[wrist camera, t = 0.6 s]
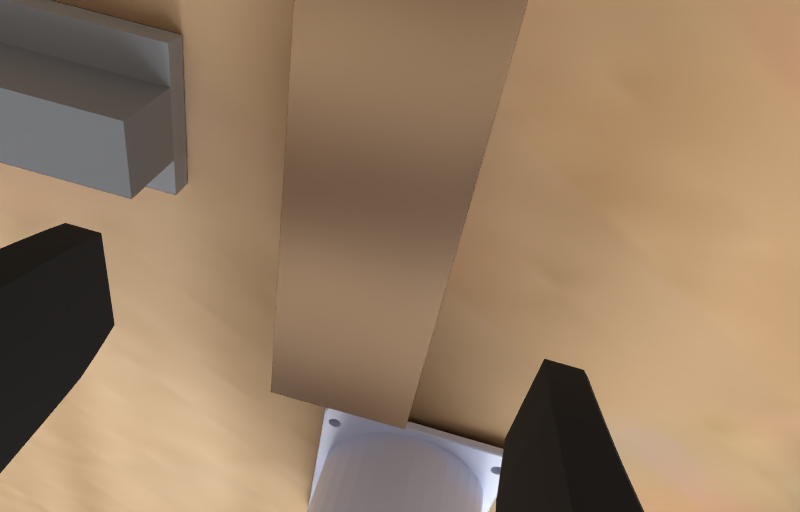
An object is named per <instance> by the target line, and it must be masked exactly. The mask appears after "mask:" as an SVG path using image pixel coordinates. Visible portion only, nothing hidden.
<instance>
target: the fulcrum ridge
mask: <svg viewBox="0 0 800 512" xmlns="http://www.w3.org/2000/svg"><path fill="white" fill-rule="evenodd" d="M0 162H1V163H4V164H8V165H11V166H15V167H19V168H22V169H26V170H29V171H33V172H36V173H40V174H44V175H47V176H51V177H54V178H58V179H62V180H65V181H69V182H72V183H76V184H80V185H83V186H87V187H90V188H94V189H97V190H101V191H105V192H108V193H112V194H115V195H119V196H123V197H126V198H130V199H132V198H133V197H134V196H135V195H136V194H138V193H139V192H140V191H141V190H142V189H143V188H144V187H148V188H152V189H155V190H159V191H163V192H166V193H170V194H173V195H176V194H177V193H178V192H179V191H180V190H181V189H182V188H183V187H184V186H185V185H186V184H187V183H188V182H187V154H186V126H185V98H184V71H183V43H182V35H180V34H177V33H173V32H169V31H165V30H161V29H158V28H154V27H150V26H146V25H142V24H139V23H135V22H131V21H127V20H124V19H120V18H116V17H112V16H108V15H105V14H101V13H97V12H93V11H89V10H86V9H82V8H78V7H74V6H70V5H67V4H63V3H59V2H55V1H51V0H0Z"/></svg>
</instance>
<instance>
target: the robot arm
mask: <svg viewBox="0 0 800 512" xmlns="http://www.w3.org/2000/svg"><path fill="white" fill-rule="evenodd" d="M113 326H114V318H113V311H112V304H111V297H110V290H109V283H108V277H107V270H106V263H105V256H104V249H103V242H102V235H101V233H99V232H95V231H92V230H88V229H85V228H81V227H78V226H74V225H71V224H67V223H64V224H61V225H59V226H56V227H53V228H50V229H48V230H45V231H42V232H40V233H37V234H35V235H32V236H30V237H27V238H25V239H23V240H20V241H18V242H15V243H13V244H10V245H8V246H6V247H3V248H1V249H0V473H1V472H2V471H3V469H4V468H5V467H6V466H7V465H8V464H9V462H10V461H11V460H12V459H13V458H14V456H15V455H16V454H17V453H18V452H19V451H20V449H21V448H22V447H23V446H24V445H25V443H26V442H27V441H28V440H29V439H30V438H31V436H32V435H33V434H34V433H35V432H36V431H37V429H38V428H39V427H40V426H41V425H42V424H43V422H44V421H45V420H46V419H47V418H48V416H49V415H50V414H51V413H52V412H53V410H54V409H55V408H56V407H57V406H58V404H59V403H60V402H61V401H62V400H63V398H64V397H65V396H66V395H67V394H68V392H69V391H70V390H71V389H72V388H73V386H74V385H75V384H76V383H77V381H78V380H79V379H80V378H81V376H82V375H83V373H84V372H85V370H86V369H87V367H88V366H89V364H90V363H91V361H92V360H93V358H94V357H95V355H96V354H97V352H98V351H99V349H100V347H101V346H102V344H103V343H104V341H105V339H106V338H107V336H108V334H109V333H110V331H111V330H112V328H113ZM496 497H497V499H496ZM495 499H496V512H644V510H643V508H642V506H641V504H640V502H639V499H638V497H637V495H636V493H635V491H634V488H633V486H632V484H631V482H630V480H629V478H628V475H627V473H626V471H625V468H624V466H623V464H622V461H621V459H620V457H619V454H618V452H617V450H616V447H615V445H614V442H613V440H612V438H611V435H610V433H609V430H608V428H607V425H606V423H605V420H604V418H603V415H602V413H601V410H600V408H599V405H598V403H597V400H596V398H595V395H594V392H593V390H592V387H591V385H590V382H589V379H588V377H587V375H586V373H585V372H584V370H582V369H578V368H575V367H571V366H568V365H564V364H561V363H557V362H554V361H550V360H547V359H544V361H543V363H542V365H541V367H540V369H539V371H538V373H537V375H536V377H535V379H534V381H533V383H532V385H531V387H530V389H529V391H528V393H527V395H526V397H525V399H524V401H523V403H522V405H521V408H520V410H519V412H518V414H517V416H516V418H515V420H514V422H513V424H512V426H511V428H510V430H509V432H508V434H507V436H506V438H505V443H504V449H502V448H498V447H495V446H491V445H488V444H485V443H481V442H478V441H474V440H471V439H467V438H464V437H461V436H457V435H454V434H450V433H447V432H443V431H440V430H436V429H433V428H430V427H426V426H423V425H419V424H416V423H412V422H409V421H408V422H407V425H406V429H401V428H397V427H394V426H390V425H387V424H383V423H380V422H376V421H373V420H369V419H365V418H362V417H358V416H355V415H351V414H348V413H344V412H340V411H337V410H333V409H330V408H326V410H325V413H324V419H323V425H322V430H321V436H320V442H319V448H318V453H317V459H316V465H315V470H314V476H313V482H312V488H311V493H310V499H309V505H308V510H307V512H489V510H490V508H491V506H492V504H493V502H494V500H495Z"/></svg>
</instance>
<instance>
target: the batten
mask: <svg viewBox="0 0 800 512" xmlns="http://www.w3.org/2000/svg"><path fill="white" fill-rule="evenodd" d="M527 3H528V0H294V10H293V26H292V43H291V60H290V77H289V94H288V111H287V128H286V145H285V162H284V179H283V196H282V213H281V229H280V246H279V263H278V280H277V297H276V314H275V331H274V348H273V365H272V382H271V392H273V393H276V394H280V395H283V396H287V397H291V398H294V399H298V400H301V401H305V402H308V403H312V404H316V405H319V406H323V407H326V408H330V409H333V410H337V411H340V412H344V413H348V414H351V415H355V416H358V417H362V418H365V419H369V420H373V421H376V422H380V423H383V424H387V425H390V426H394V427H397V428H401V429H406V425H407V422H408V418H409V415H410V411H411V408H412V404H413V401H414V397H415V394H416V390H417V387H418V383H419V380H420V376H421V373H422V369H423V366H424V362H425V359H426V355H427V352H428V348H429V345H430V341H431V338H432V334H433V331H434V327H435V324H436V320H437V317H438V313H439V310H440V306H441V303H442V299H443V296H444V292H445V289H446V286H447V282H448V279H449V275H450V272H451V268H452V265H453V261H454V258H455V254H456V251H457V247H458V244H459V240H460V237H461V233H462V230H463V226H464V223H465V219H466V216H467V212H468V209H469V205H470V202H471V198H472V195H473V191H474V188H475V184H476V181H477V177H478V174H479V170H480V167H481V163H482V160H483V156H484V153H485V149H486V146H487V142H488V139H489V135H490V132H491V128H492V125H493V121H494V118H495V115H496V111H497V108H498V104H499V101H500V97H501V94H502V90H503V87H504V83H505V80H506V76H507V73H508V69H509V66H510V62H511V59H512V55H513V52H514V48H515V45H516V41H517V38H518V34H519V31H520V27H521V24H522V20H523V17H524V13H525V10H526V6H527Z"/></svg>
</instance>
